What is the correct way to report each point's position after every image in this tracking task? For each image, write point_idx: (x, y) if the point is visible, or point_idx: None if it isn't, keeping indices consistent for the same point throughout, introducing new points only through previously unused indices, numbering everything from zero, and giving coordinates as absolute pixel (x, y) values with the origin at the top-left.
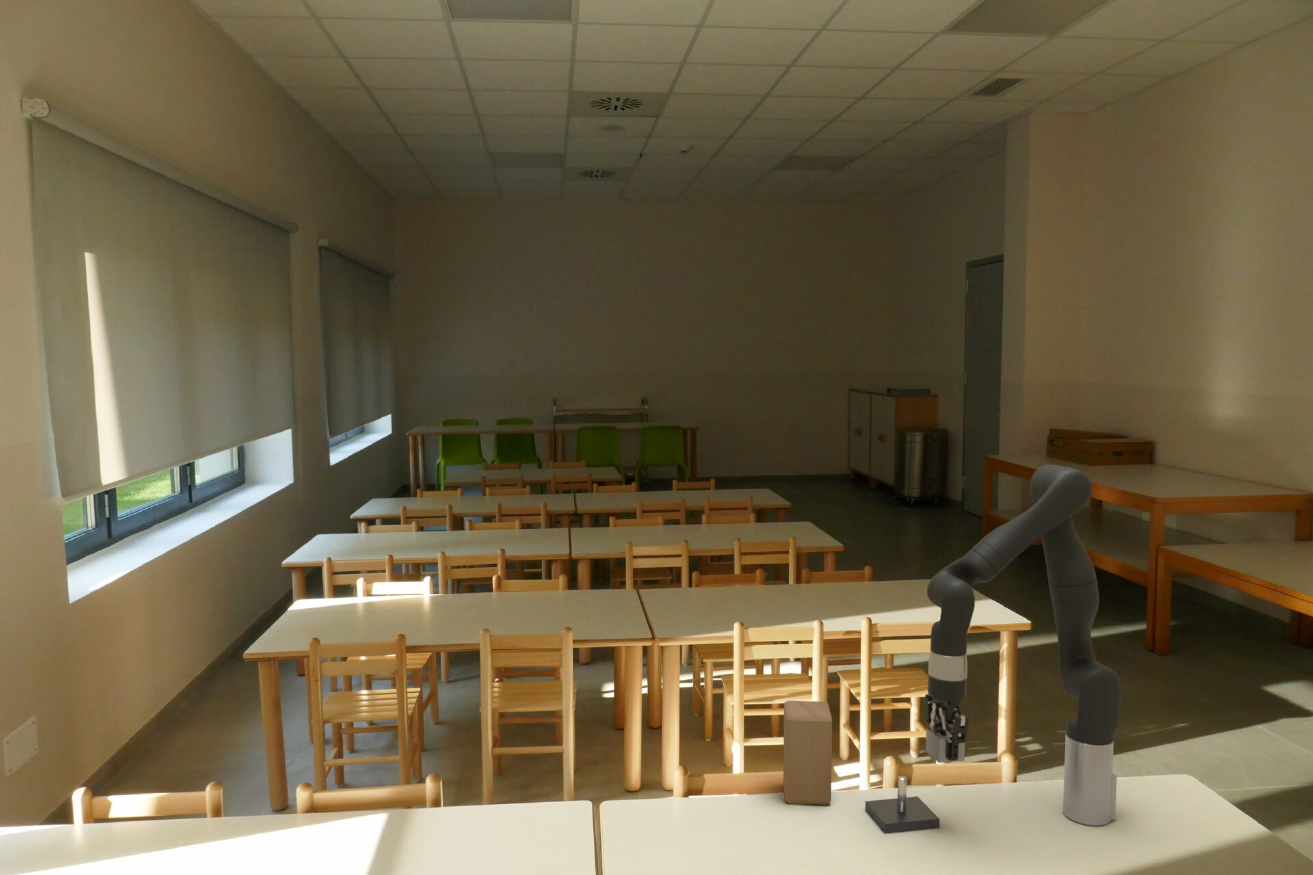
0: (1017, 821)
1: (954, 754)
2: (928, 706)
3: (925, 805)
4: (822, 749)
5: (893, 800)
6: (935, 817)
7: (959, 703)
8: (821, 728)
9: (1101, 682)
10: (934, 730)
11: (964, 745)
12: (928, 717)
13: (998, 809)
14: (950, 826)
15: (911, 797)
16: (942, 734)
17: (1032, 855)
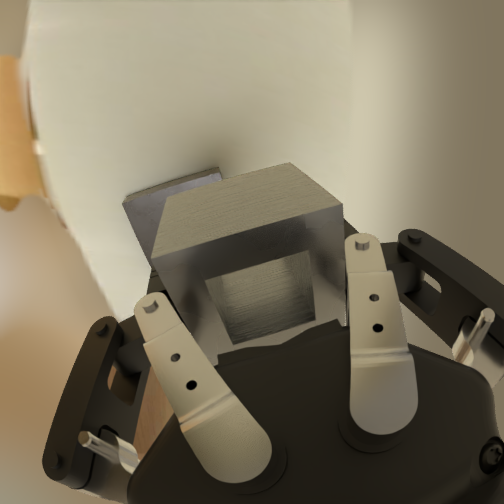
0: (183, 8)
1: None
2: (131, 439)
3: (161, 192)
4: (167, 411)
5: (150, 250)
6: (215, 179)
7: (501, 440)
8: None
9: None
10: (242, 345)
11: (318, 186)
12: (142, 384)
13: (129, 34)
14: (210, 143)
15: (129, 216)
16: (214, 290)
17: (321, 30)
